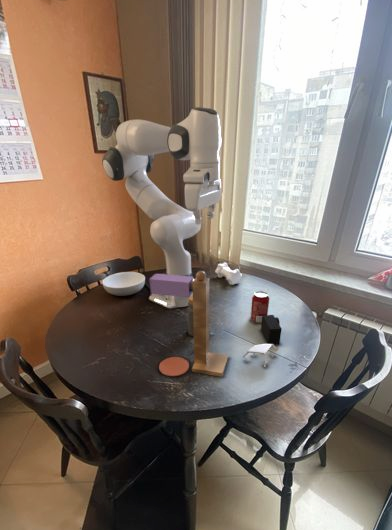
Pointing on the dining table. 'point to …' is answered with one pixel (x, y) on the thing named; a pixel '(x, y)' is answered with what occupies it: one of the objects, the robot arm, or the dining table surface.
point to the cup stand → (204, 330)
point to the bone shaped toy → (228, 273)
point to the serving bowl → (124, 283)
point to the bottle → (190, 316)
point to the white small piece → (261, 351)
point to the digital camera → (271, 329)
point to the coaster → (174, 366)
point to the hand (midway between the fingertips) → (204, 221)
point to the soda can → (259, 306)
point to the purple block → (170, 285)
